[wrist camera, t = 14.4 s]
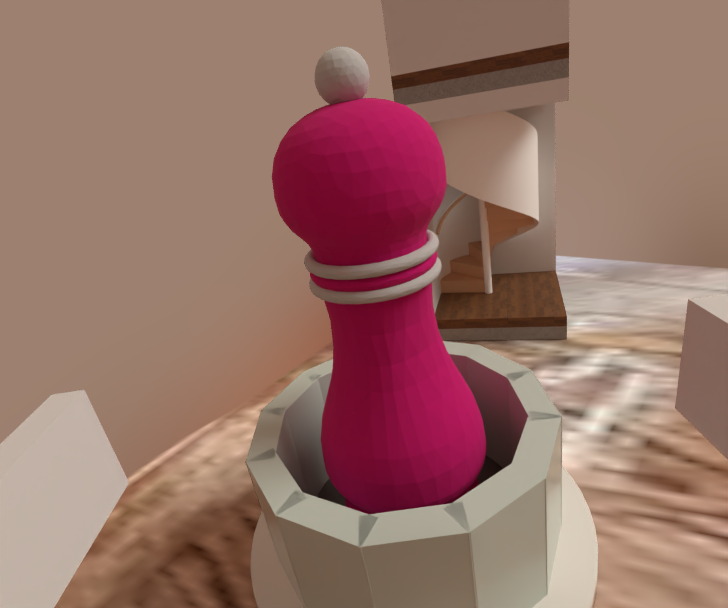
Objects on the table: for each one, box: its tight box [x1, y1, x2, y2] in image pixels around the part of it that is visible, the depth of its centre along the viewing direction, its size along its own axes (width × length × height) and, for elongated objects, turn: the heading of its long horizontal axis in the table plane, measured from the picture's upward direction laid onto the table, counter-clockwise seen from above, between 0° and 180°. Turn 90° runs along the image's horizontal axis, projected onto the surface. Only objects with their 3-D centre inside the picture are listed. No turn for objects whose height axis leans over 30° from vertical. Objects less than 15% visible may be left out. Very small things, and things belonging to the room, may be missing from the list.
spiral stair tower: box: [381, 0, 569, 341], centre depth 37 cm, size 11×11×35 cm
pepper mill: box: [272, 47, 486, 514], centre depth 19 cm, size 7×7×20 cm
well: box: [246, 341, 598, 608], centre depth 22 cm, size 16×16×8 cm
